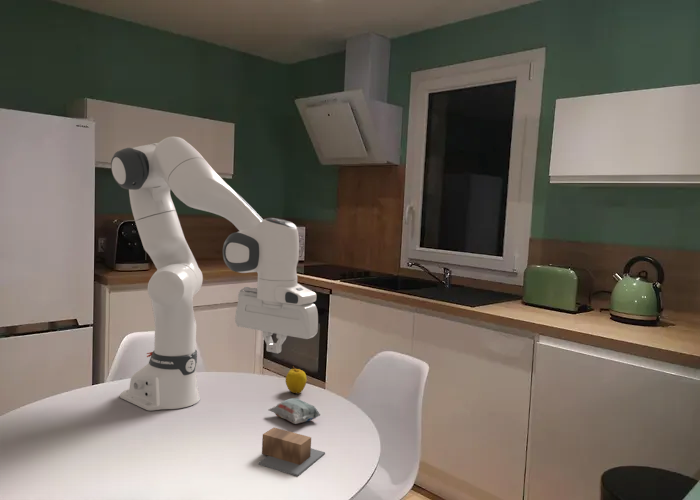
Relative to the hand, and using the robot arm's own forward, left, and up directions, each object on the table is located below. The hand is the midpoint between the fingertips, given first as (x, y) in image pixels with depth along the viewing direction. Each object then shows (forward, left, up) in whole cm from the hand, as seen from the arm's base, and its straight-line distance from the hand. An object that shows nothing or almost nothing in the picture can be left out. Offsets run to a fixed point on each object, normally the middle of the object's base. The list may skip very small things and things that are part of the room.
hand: (273, 351), depth 118 cm
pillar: (-1, 0, -21) cm, 21 cm away
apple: (-16, +37, -24) cm, 47 cm away
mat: (+6, 0, -23) cm, 24 cm away
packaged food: (-5, +19, -24) cm, 31 cm away
